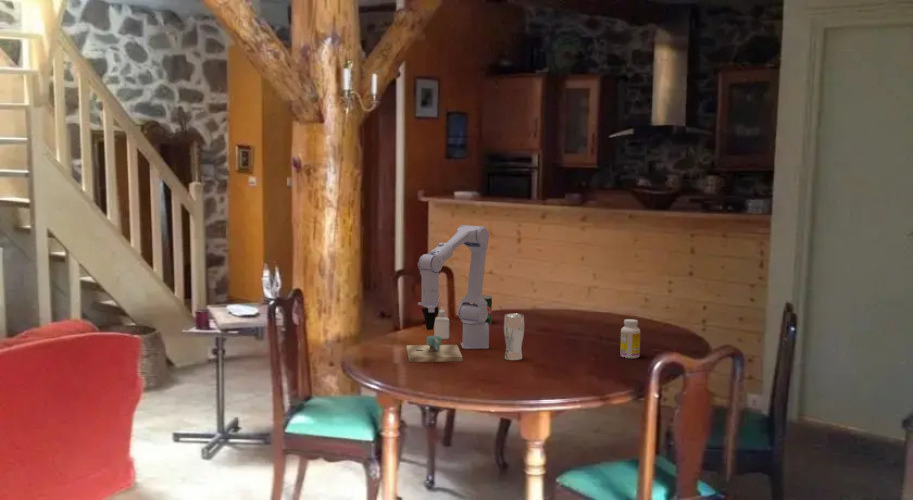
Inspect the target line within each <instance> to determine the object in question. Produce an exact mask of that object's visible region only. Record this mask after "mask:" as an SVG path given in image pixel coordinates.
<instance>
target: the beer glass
mask: <svg viewBox="0 0 913 500" xmlns="http://www.w3.org/2000/svg"><path fill="white" fill-rule="evenodd" d="M503 333H504V334H503V335H504V342H505V353H504V359H505V360H506V361H507V360H508V361H521V360H522V359H523V354H522V353H523V352H522V345H523V340H524V335H525V315H524V314H522V313H505V314H504V320H503Z"/></svg>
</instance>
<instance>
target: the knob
mask: <svg viewBox="0 0 913 500" xmlns="http://www.w3.org/2000/svg"><path fill="white" fill-rule="evenodd" d="M426 345H428V346H434V347H435V349H436V350H440V345H442V339H441V337H440V336H434V335H429V336H426Z"/></svg>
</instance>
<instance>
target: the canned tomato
mask: <svg viewBox="0 0 913 500" xmlns="http://www.w3.org/2000/svg"><path fill="white" fill-rule="evenodd" d="M482 298H483V299H484V300H485V301H486V302H487V310H488V317H487V319H486V321H485V323H488V325H489V326H490V325H492V323H493V322H492V321H493V320H492V319H493V317H492V315H493V314H492V313H493V309H492V307H493V305H492V303H493V296H492V295H486V294H482ZM472 304H474V305H477V304H475V303H472Z"/></svg>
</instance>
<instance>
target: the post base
mask: <svg viewBox="0 0 913 500" xmlns="http://www.w3.org/2000/svg"><path fill="white" fill-rule="evenodd" d="M406 353H407V359H408V362H409V363H422V362H423V363H425V362H426V363H427V362H428V363H429V362H430V363H431V362H432V363H433V362H438V363H439V362H440V363H441V362H463V355H462V353H461V351H460V348H459V347H458V344H441V345H440V350H436V349H435V347H434V346H428V345H427V344H423V345H422V344H418V345H417V344H415V345H413V344H412V345H410V344H409V345H408V344H407V345H406Z"/></svg>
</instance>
